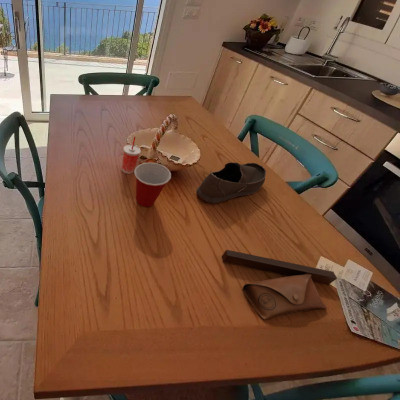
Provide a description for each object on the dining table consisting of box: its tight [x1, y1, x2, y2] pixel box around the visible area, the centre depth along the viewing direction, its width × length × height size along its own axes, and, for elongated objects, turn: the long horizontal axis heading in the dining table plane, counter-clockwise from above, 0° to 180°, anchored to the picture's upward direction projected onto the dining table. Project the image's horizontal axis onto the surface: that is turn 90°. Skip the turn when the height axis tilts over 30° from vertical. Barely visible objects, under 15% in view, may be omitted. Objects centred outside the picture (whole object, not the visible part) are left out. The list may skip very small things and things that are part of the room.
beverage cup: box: [121, 135, 142, 175], centre depth 96 cm, size 6×6×14 cm
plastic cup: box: [133, 161, 172, 208], centre depth 84 cm, size 11×11×12 cm
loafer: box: [195, 161, 267, 204], centre depth 91 cm, size 11×30×11 cm, turn 121°
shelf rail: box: [221, 249, 338, 285], centre depth 70 cm, size 2×26×3 cm, turn 77°
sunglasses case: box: [242, 274, 328, 320], centre depth 64 cm, size 18×7×7 cm, turn 102°
